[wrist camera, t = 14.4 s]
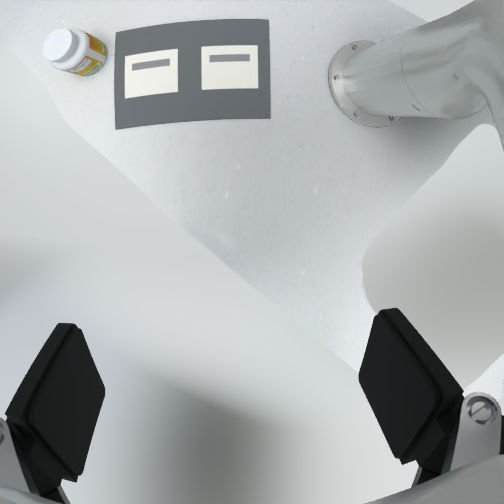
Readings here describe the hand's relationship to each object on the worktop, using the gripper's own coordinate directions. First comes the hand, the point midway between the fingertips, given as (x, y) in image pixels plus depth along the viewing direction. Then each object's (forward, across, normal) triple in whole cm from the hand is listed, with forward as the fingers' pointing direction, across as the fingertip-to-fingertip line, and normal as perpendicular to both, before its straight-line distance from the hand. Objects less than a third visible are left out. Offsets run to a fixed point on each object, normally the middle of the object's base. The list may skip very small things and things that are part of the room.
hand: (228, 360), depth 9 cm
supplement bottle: (+33, +18, -19) cm, 42 cm away
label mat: (+32, +4, -15) cm, 36 cm away
